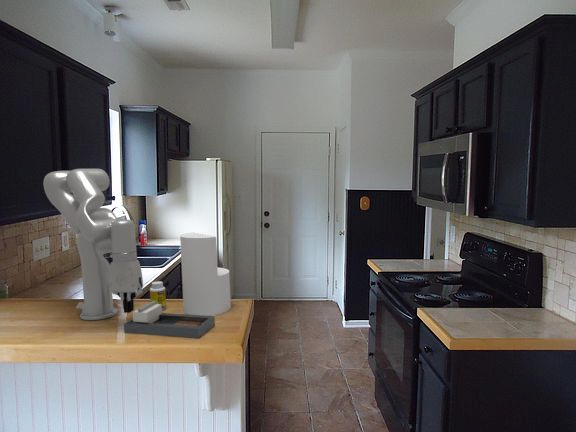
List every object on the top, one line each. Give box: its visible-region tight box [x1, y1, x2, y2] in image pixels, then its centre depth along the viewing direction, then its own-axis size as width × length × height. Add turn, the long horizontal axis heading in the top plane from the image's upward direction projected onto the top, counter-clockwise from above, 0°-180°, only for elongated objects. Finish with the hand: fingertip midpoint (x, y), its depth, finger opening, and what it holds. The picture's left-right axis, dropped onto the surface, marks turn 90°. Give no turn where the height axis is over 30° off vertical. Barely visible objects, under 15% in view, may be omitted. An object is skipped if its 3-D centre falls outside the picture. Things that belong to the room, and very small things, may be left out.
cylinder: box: [179, 232, 232, 316], centre depth 159 cm, size 17×17×28 cm
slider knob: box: [132, 301, 163, 323], centre depth 142 cm, size 5×9×6 cm, turn 166°
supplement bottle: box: [149, 281, 167, 311], centre depth 161 cm, size 6×6×10 cm
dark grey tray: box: [123, 312, 216, 339], centre depth 140 cm, size 26×12×3 cm, turn 76°
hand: (128, 311), depth 143 cm, fingers closed
